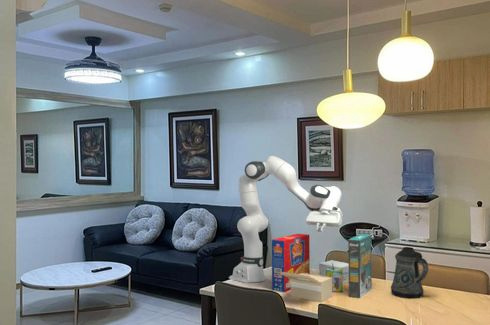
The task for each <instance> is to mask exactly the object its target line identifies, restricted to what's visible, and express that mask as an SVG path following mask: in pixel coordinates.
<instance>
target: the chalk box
mask: <svg viewBox="0 0 490 325" xmlns="http://www.w3.org/2000/svg"><path fill="white" fill-rule="evenodd" d="M332 266H333V263H332ZM326 276H327V277H331V278H332V293H333V292H334V293H344V289H343V288H344V287H343V286H344V284H343V283H344V282H343V279H342V268H334V266H333V268H326Z"/></svg>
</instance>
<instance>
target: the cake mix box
mask: <svg viewBox="0 0 490 325" xmlns="http://www.w3.org/2000/svg"><path fill="white" fill-rule="evenodd" d="M347 241H348V263H349V281H348V297H349V298H354V299H361V298H363V297H364V296H365V295H366V294H367V293H369V292H370V291H372V284H373V283H372V282H373V281H372V276H373V275H372V234H366V233H365V234H363V233H360V234H357V235H356V236H354V237H351V238H349V239H348V240H347Z"/></svg>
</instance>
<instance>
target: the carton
mask: <svg viewBox="0 0 490 325" xmlns="http://www.w3.org/2000/svg"><path fill="white" fill-rule="evenodd" d="M299 275H306V276H310V277H312V278H314V279H316V280H317V281H318V283H312V282H306V281H300V280H294V279H291V282H290V286H291V290H290V297H293V298H298V299H302V300H308V301H313V302H319V303H323V302H324V301H326V300H328V299H330V298H332V297H333V292H332V278H331V277H327V276H321V275H319V274H312V273H310V274H307V273H301V274H299Z"/></svg>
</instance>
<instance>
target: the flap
mask: <svg viewBox="0 0 490 325" xmlns="http://www.w3.org/2000/svg"><path fill="white" fill-rule="evenodd" d="M280 274H281V275H283V276H286V277H288V278H290V279H294V280H300V281H306V282H312V283H318V281H317V280H316V279H314V278H312V277H310V276H306V275H299V274H293V273H286V272H281V273H280Z"/></svg>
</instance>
